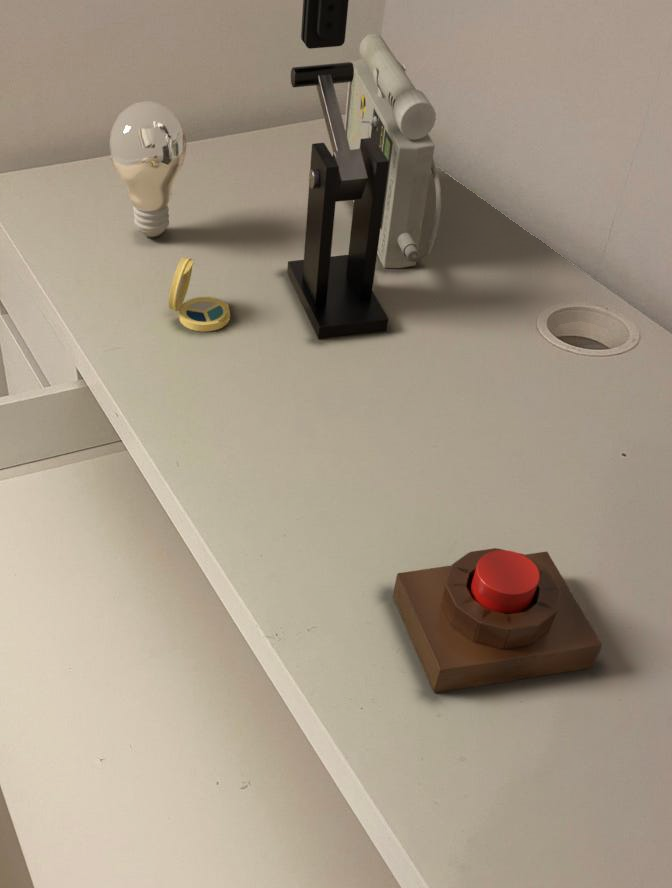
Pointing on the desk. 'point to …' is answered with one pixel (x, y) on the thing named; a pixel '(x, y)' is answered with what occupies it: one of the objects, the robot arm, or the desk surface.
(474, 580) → the button
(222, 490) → the desk surface
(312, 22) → the robot arm
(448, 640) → the button block
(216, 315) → the eyeshadow
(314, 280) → the bracket
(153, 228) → the light bulb
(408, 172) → the geiger counter
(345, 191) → the lever
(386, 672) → the desk surface
